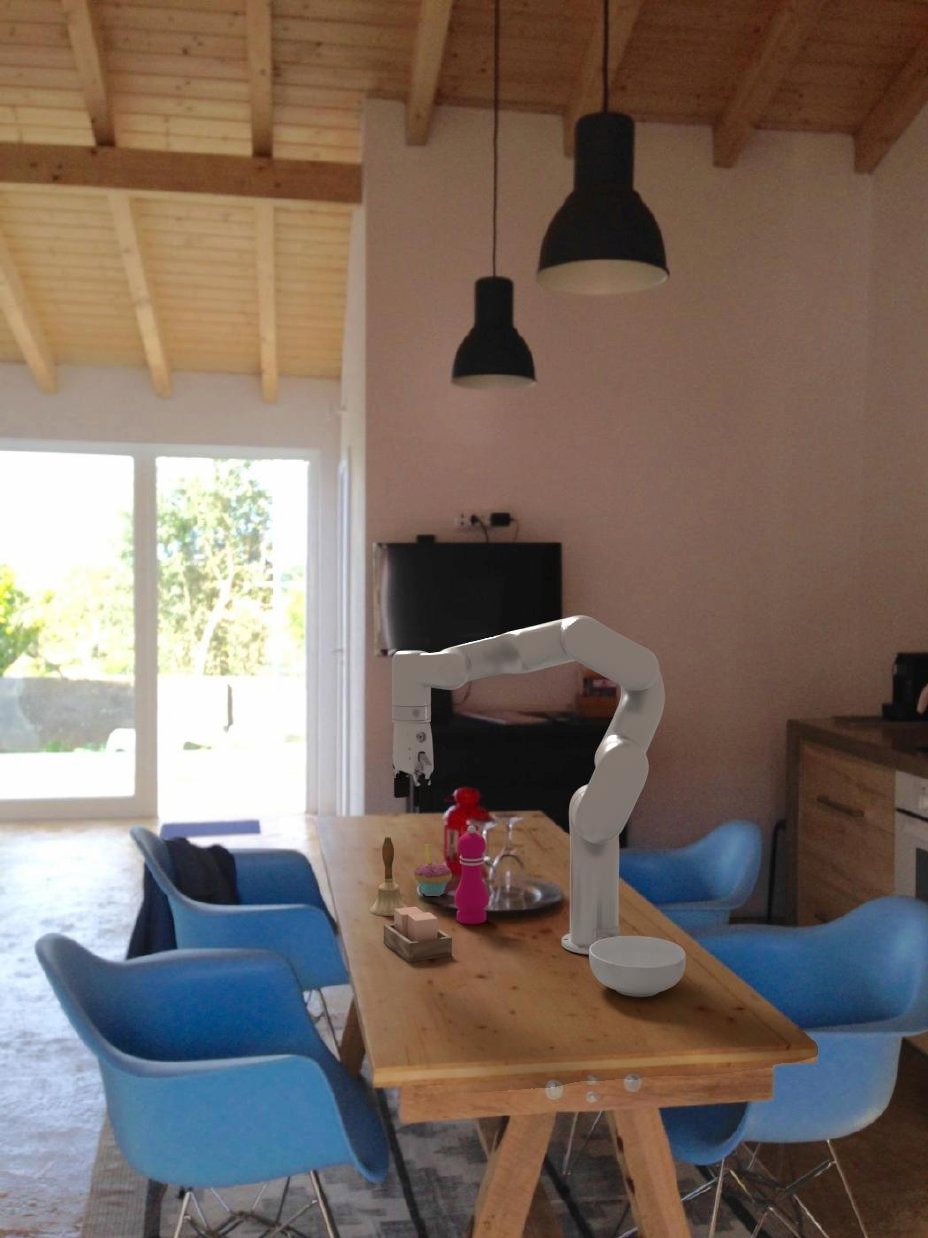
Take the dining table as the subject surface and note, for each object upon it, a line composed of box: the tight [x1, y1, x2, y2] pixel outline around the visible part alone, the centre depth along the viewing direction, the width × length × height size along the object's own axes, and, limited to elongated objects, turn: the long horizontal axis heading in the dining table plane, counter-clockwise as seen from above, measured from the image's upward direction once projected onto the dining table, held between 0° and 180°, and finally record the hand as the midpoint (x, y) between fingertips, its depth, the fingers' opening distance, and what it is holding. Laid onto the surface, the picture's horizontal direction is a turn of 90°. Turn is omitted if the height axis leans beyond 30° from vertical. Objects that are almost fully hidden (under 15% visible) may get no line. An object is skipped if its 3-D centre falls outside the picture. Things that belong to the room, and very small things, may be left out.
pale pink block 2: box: [407, 911, 439, 942], centre depth 231 cm, size 4×4×6 cm
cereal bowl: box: [588, 935, 687, 998], centre depth 210 cm, size 17×17×7 cm
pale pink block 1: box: [393, 906, 425, 938], centre depth 235 cm, size 4×4×6 cm
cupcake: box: [413, 840, 453, 896], centre depth 272 cm, size 9×8×12 cm
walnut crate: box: [383, 923, 453, 963], centre depth 232 cm, size 13×9×4 cm
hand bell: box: [369, 836, 408, 917], centre depth 258 cm, size 8×8×16 cm
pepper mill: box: [454, 825, 490, 925], centre depth 251 cm, size 7×7×20 cm
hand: (411, 801), depth 234 cm, fingers open, 9 cm apart
